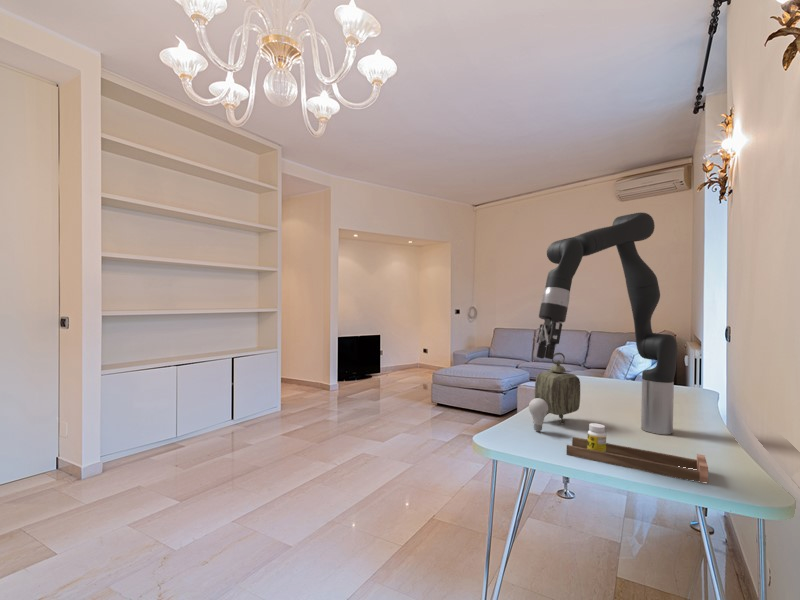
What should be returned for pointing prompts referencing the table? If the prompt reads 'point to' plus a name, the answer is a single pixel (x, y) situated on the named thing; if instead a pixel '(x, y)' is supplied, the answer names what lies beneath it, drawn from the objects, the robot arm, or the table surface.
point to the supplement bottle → (596, 437)
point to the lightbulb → (538, 412)
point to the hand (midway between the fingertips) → (544, 358)
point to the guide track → (643, 460)
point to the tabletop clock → (558, 390)
